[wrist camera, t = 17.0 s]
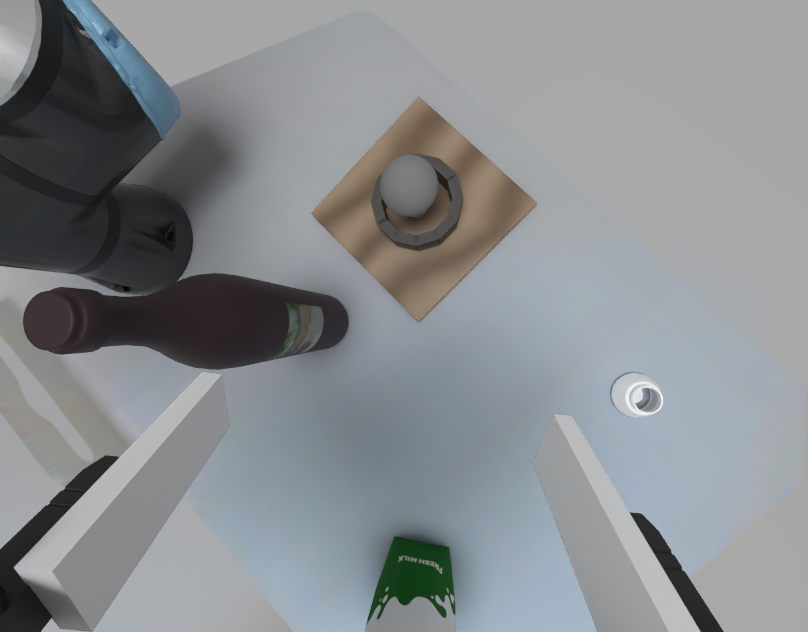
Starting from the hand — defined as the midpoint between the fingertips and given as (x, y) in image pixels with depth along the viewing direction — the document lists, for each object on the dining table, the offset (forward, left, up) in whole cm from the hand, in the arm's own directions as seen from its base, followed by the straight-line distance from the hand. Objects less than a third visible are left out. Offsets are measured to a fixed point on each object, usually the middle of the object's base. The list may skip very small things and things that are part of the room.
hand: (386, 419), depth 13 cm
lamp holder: (-14, +12, -28) cm, 34 cm away
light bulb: (-14, +12, -27) cm, 33 cm away
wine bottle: (-13, -7, -28) cm, 32 cm away
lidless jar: (+20, +14, -29) cm, 38 cm away
